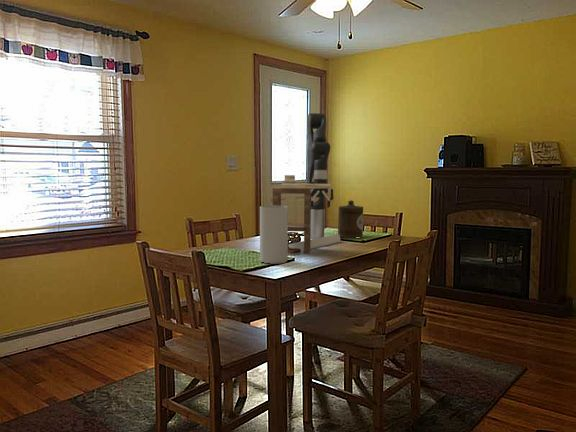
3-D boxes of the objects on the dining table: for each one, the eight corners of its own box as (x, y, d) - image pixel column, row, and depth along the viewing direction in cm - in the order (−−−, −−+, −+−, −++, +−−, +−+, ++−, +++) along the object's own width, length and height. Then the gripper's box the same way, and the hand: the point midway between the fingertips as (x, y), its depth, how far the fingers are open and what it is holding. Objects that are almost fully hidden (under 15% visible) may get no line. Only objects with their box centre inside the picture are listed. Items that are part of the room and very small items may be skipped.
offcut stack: (283, 186, 265) (283, 175, 264) (295, 186, 264) (295, 175, 264) (282, 187, 260) (282, 175, 260) (294, 187, 260) (294, 175, 259)
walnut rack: (276, 247, 270) (276, 186, 267) (310, 248, 269) (310, 186, 265) (272, 253, 254) (272, 188, 251) (309, 253, 253) (309, 188, 249)
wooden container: (364, 238, 301) (365, 201, 298) (338, 238, 301) (339, 201, 299) (361, 235, 316) (361, 199, 313) (336, 235, 316) (337, 199, 313)
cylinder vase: (269, 257, 242) (269, 204, 239) (292, 260, 235) (292, 206, 233) (254, 262, 231) (254, 207, 228) (278, 265, 225) (278, 208, 222)
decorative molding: (289, 253, 270) (304, 250, 264) (287, 244, 270) (302, 241, 264) (326, 245, 296) (340, 242, 290) (325, 236, 297) (339, 233, 290)
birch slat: (282, 187, 258) (282, 183, 257) (330, 188, 256) (330, 183, 255) (281, 188, 253) (281, 184, 253) (330, 188, 251) (330, 184, 251)
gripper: (332, 178, 288) (332, 207, 289) (307, 178, 288) (307, 207, 289) (334, 178, 281) (333, 208, 282) (308, 178, 280) (308, 208, 282)
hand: (320, 207), depth 286 cm, fingers open, 8 cm apart
